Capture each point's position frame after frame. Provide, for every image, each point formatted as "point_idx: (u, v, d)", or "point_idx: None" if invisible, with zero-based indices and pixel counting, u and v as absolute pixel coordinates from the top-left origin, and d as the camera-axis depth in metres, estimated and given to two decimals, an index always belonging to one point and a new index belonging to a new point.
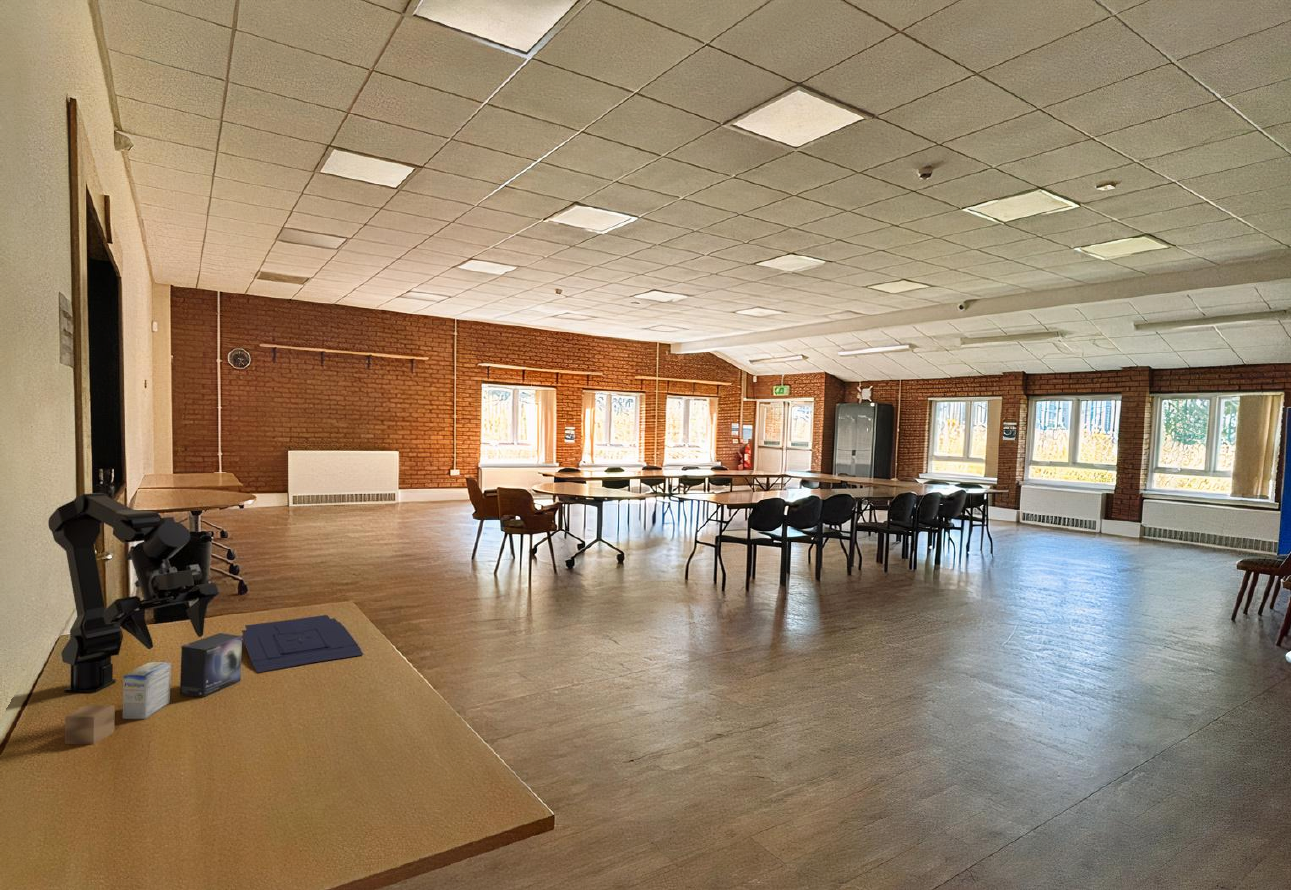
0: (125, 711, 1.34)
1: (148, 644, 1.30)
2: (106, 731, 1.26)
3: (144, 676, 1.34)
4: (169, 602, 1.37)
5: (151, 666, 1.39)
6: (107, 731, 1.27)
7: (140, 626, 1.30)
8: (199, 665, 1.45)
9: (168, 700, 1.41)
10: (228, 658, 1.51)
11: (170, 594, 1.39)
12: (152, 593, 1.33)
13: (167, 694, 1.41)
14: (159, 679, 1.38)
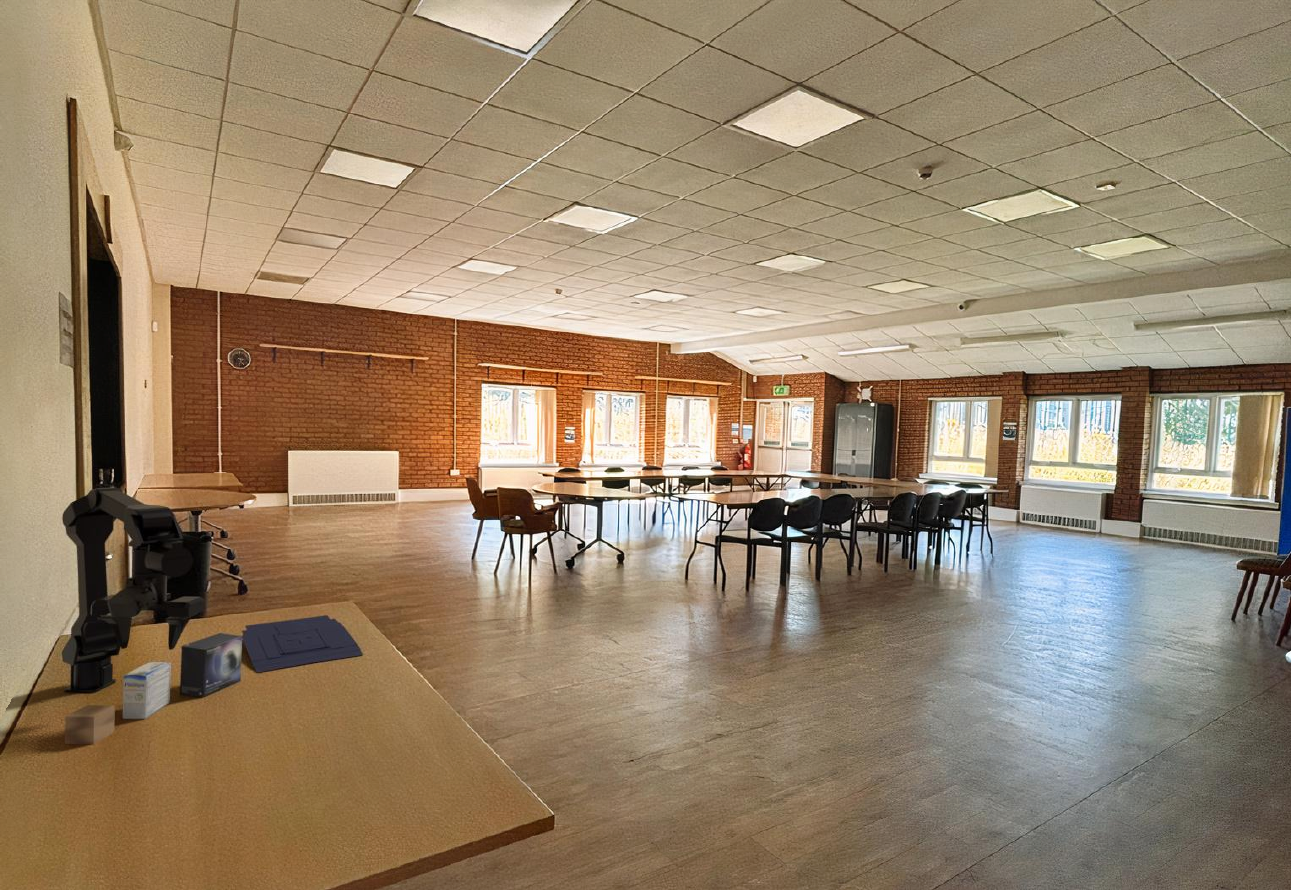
0: (125, 711, 1.34)
1: None
2: (106, 731, 1.26)
3: (144, 676, 1.34)
4: (151, 608, 1.37)
5: (151, 666, 1.39)
6: (107, 731, 1.27)
7: (113, 628, 1.36)
8: (199, 665, 1.45)
9: (168, 700, 1.41)
10: (228, 658, 1.51)
11: None
12: None
13: (167, 694, 1.41)
14: (159, 679, 1.38)
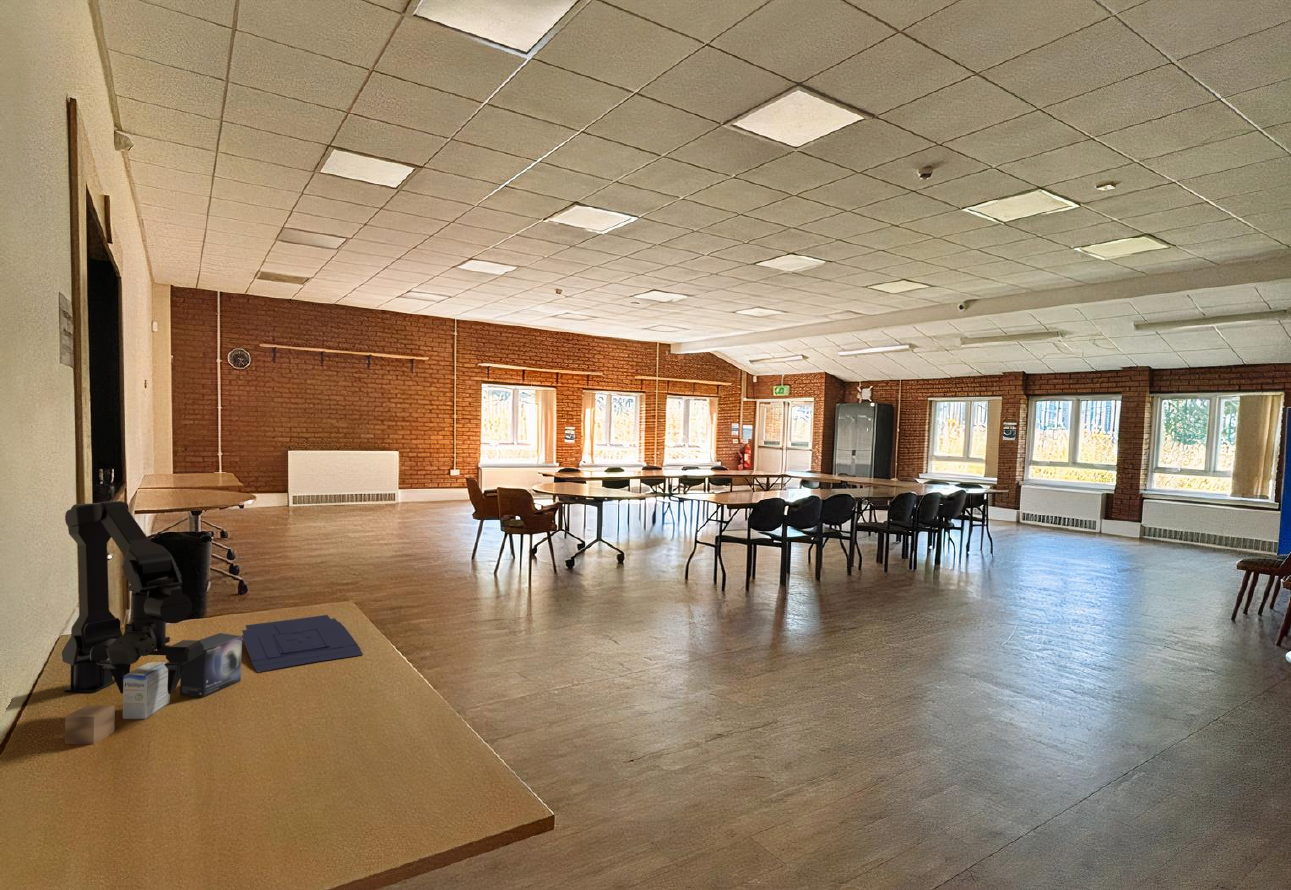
0: (125, 711, 1.34)
1: None
2: (106, 731, 1.26)
3: (144, 676, 1.34)
4: (150, 653, 1.37)
5: (151, 666, 1.39)
6: (107, 731, 1.27)
7: (112, 673, 1.36)
8: (199, 665, 1.45)
9: (168, 700, 1.41)
10: (228, 658, 1.51)
11: None
12: None
13: (167, 694, 1.41)
14: (159, 679, 1.38)
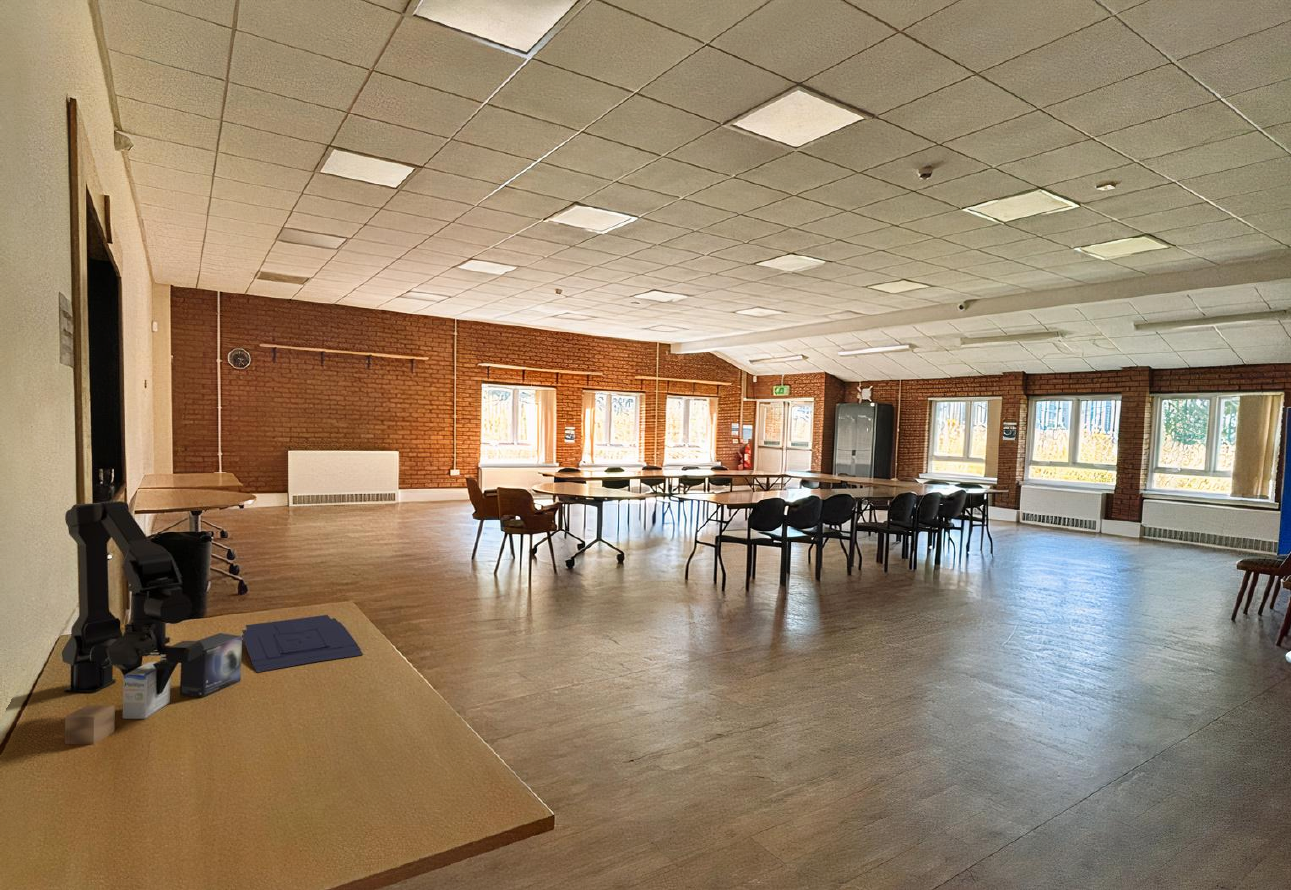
0: (125, 711, 1.34)
1: None
2: (106, 731, 1.26)
3: (144, 675, 1.34)
4: (150, 653, 1.37)
5: (151, 665, 1.39)
6: (107, 731, 1.27)
7: (123, 674, 1.36)
8: (199, 665, 1.45)
9: (168, 700, 1.41)
10: (228, 658, 1.51)
11: None
12: None
13: (167, 694, 1.41)
14: None
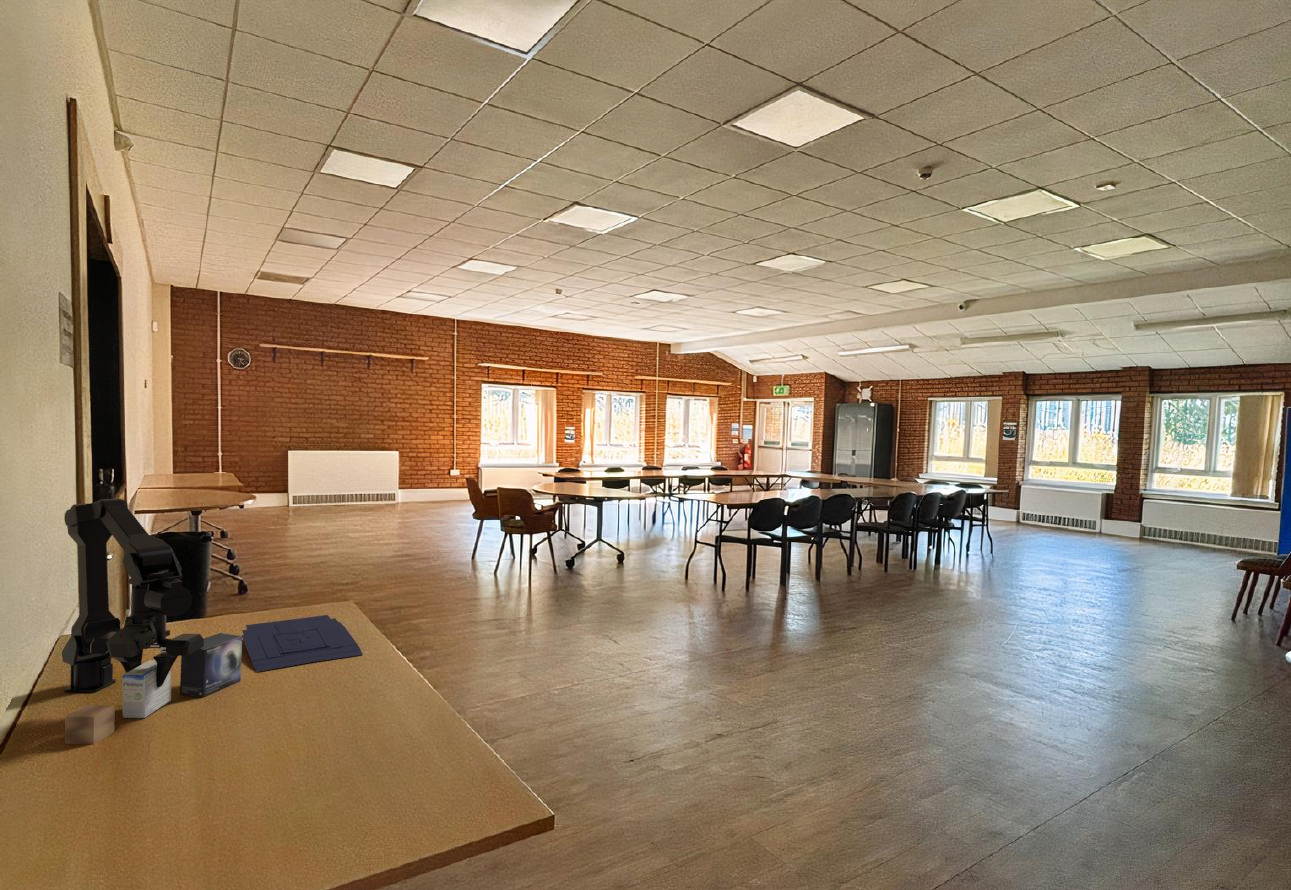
0: (125, 710, 1.34)
1: None
2: (106, 731, 1.26)
3: (142, 675, 1.34)
4: (150, 646, 1.37)
5: (151, 664, 1.39)
6: (107, 731, 1.27)
7: (124, 667, 1.36)
8: (199, 665, 1.45)
9: (169, 698, 1.41)
10: (228, 658, 1.51)
11: None
12: None
13: (168, 692, 1.41)
14: None
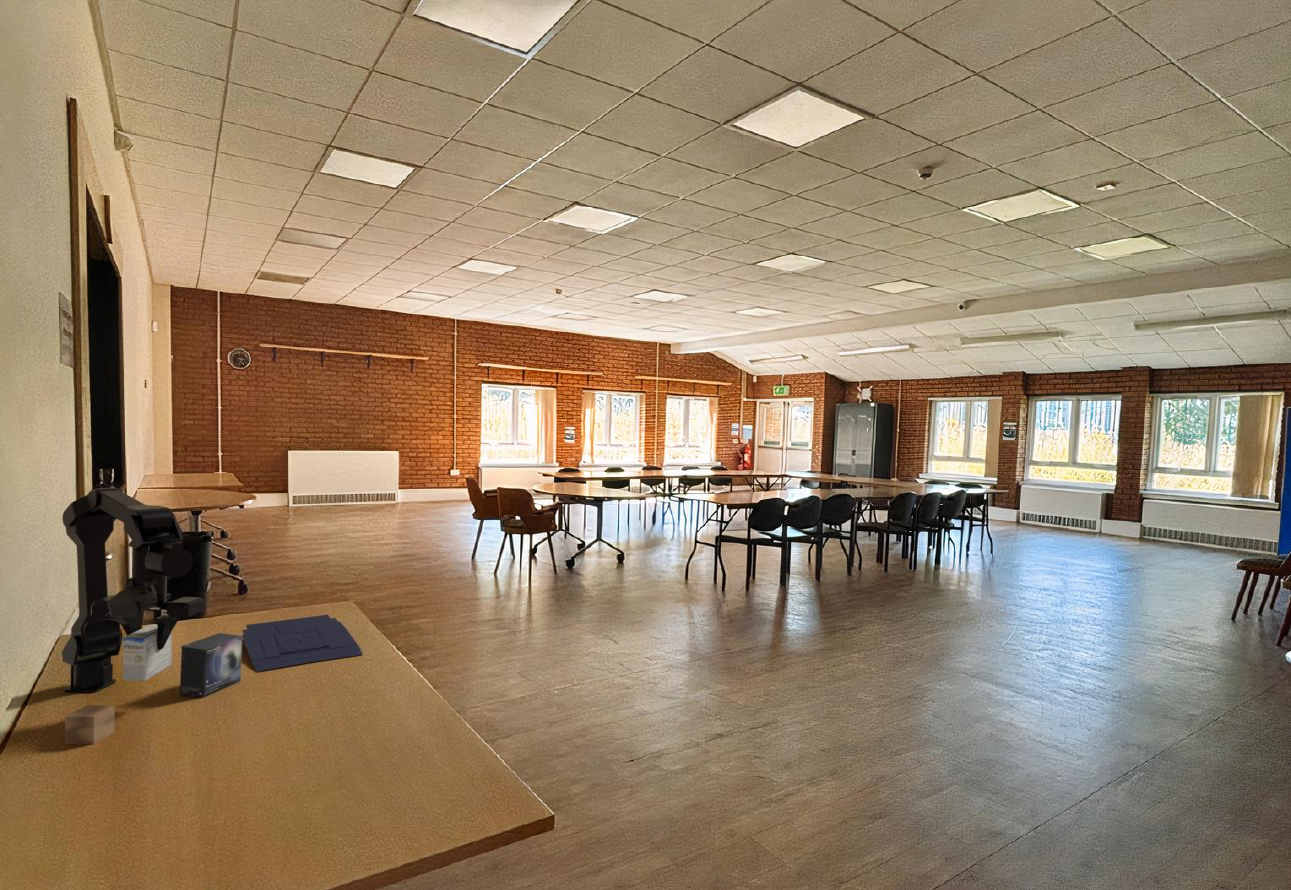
0: (126, 673, 1.34)
1: None
2: (106, 731, 1.26)
3: (143, 638, 1.34)
4: (151, 609, 1.37)
5: (152, 628, 1.39)
6: (107, 731, 1.27)
7: (124, 629, 1.36)
8: (199, 665, 1.45)
9: (170, 662, 1.41)
10: (228, 658, 1.51)
11: None
12: None
13: (169, 656, 1.41)
14: None
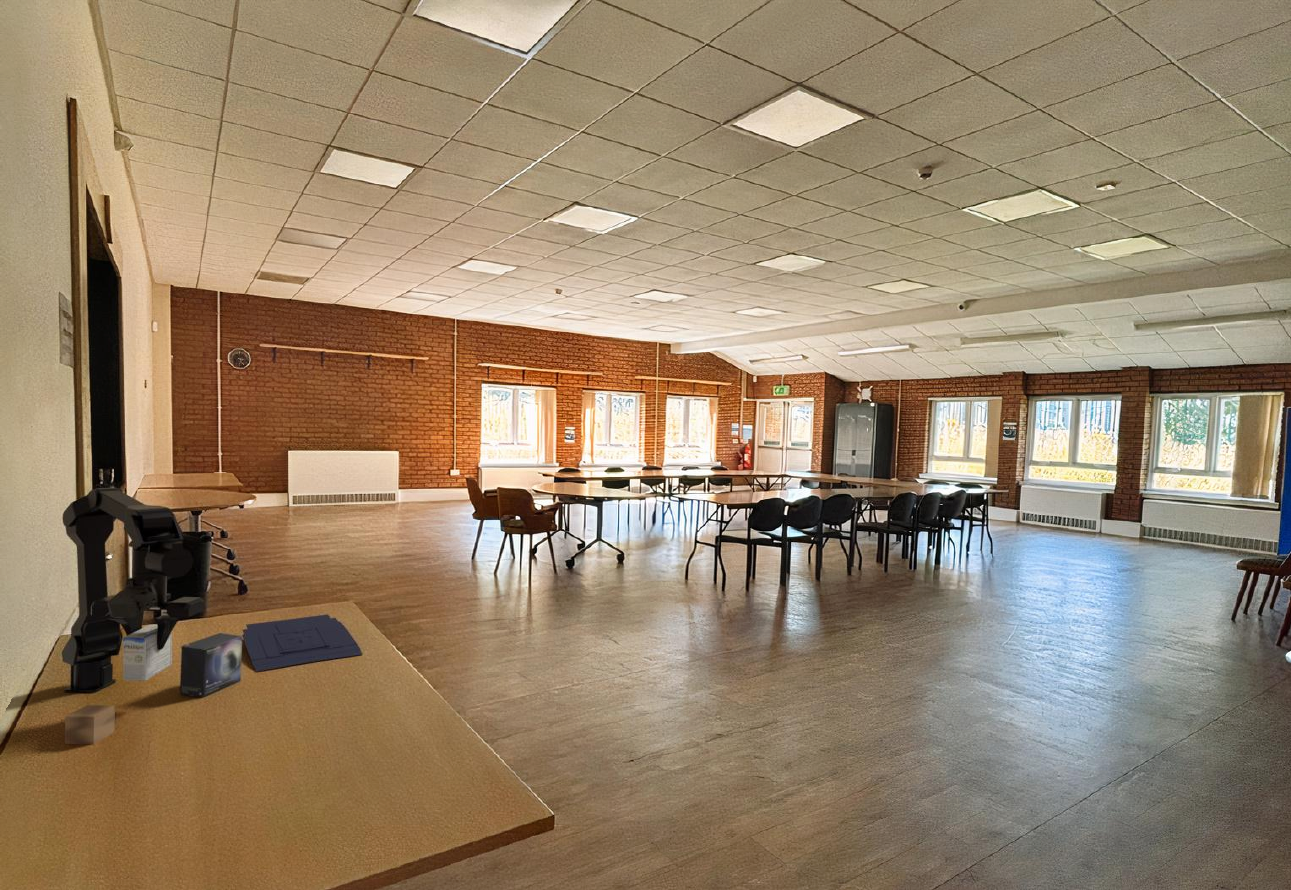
0: (126, 673, 1.34)
1: None
2: (106, 731, 1.26)
3: (143, 638, 1.34)
4: (151, 609, 1.37)
5: (152, 628, 1.39)
6: (107, 731, 1.27)
7: (124, 629, 1.36)
8: (199, 665, 1.45)
9: (170, 662, 1.41)
10: (228, 658, 1.51)
11: None
12: None
13: (169, 656, 1.41)
14: None
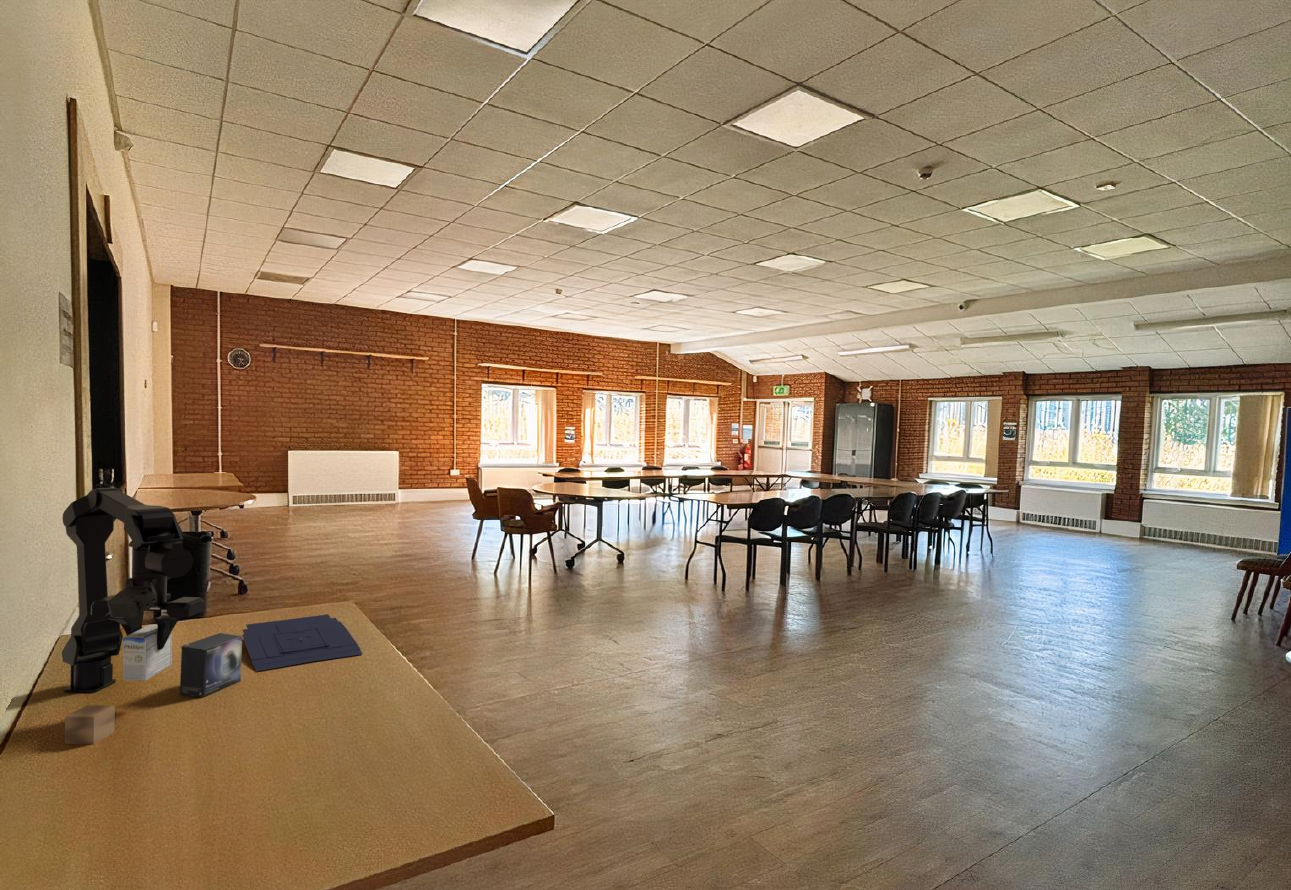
0: (126, 673, 1.34)
1: None
2: (106, 731, 1.26)
3: (143, 638, 1.34)
4: (151, 609, 1.37)
5: (152, 628, 1.39)
6: (107, 731, 1.27)
7: (124, 629, 1.36)
8: (199, 665, 1.45)
9: (170, 662, 1.41)
10: (228, 658, 1.51)
11: None
12: None
13: (169, 656, 1.41)
14: None
